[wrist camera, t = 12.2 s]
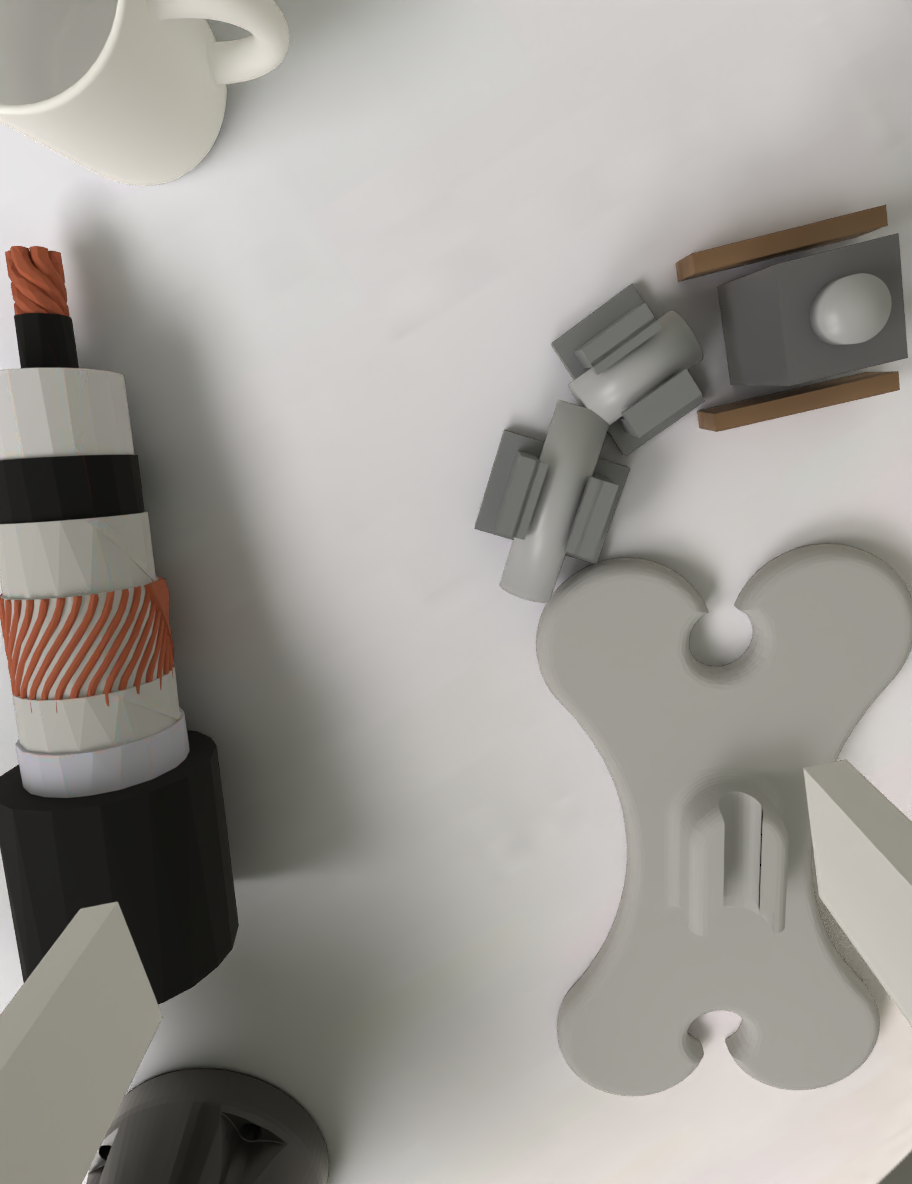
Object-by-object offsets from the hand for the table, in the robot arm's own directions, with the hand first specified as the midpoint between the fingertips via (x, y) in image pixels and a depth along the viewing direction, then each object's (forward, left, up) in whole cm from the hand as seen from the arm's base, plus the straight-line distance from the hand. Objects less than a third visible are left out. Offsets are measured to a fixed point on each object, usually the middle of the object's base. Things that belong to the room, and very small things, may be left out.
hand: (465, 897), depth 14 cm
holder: (-19, -10, -26) cm, 34 cm away
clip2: (+8, -9, -26) cm, 28 cm away
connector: (+8, -16, -26) cm, 31 cm away
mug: (+24, +8, -26) cm, 36 cm away
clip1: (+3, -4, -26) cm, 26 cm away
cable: (+2, +19, -26) cm, 32 cm away
